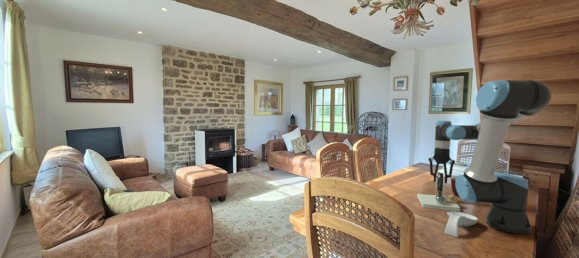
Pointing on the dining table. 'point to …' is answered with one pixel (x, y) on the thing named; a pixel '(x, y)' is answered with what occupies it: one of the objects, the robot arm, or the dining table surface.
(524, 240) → the dining table surface
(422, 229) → the dining table surface
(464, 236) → the dining table surface
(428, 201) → the board
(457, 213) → the spoon rest
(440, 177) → the lever
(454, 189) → the mug
